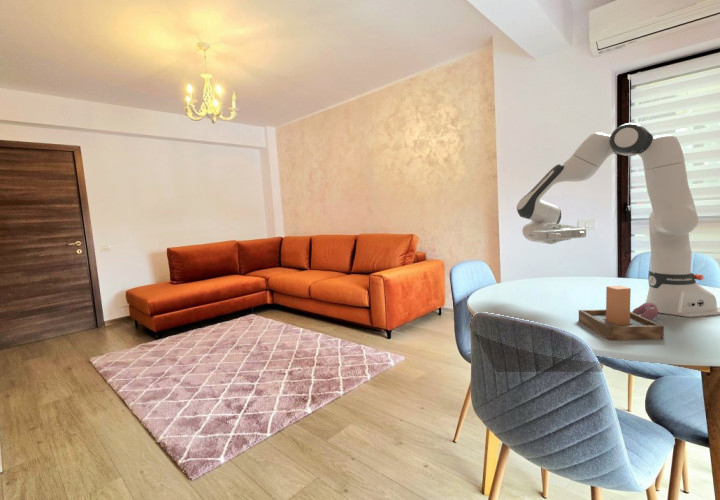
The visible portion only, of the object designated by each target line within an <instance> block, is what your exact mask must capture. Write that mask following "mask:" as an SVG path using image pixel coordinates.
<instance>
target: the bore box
mask: <svg viewBox="0 0 720 500" xmlns="http://www.w3.org/2000/svg"><path fill="white" fill-rule="evenodd" d="M578 322H579V323H581V324H583V326H586V327H587V328H588V329H590V330H592V331H594V332H595V333H597V334H598V335H600V336H601V337H603V338H605V339H607V340H608V341H634V340H635V341H637V340H638V341H640V340H641V341H645V340H649V341H650V340H653V341H654V340H657V341H658V340H664V336H665V335H664V333H665V326H664V325H662V324H659V323H658V322H655V321H653V320H652V319H651V320H648V319H646V318H644V317H642V316H639V315H637V314H635V313H633V312H632V311H630V325H612V324H610V323H608V322H606V309H578Z"/></svg>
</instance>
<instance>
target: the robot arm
mask: <svg viewBox="0 0 720 500" xmlns="http://www.w3.org/2000/svg"><path fill="white" fill-rule="evenodd" d="M612 155H621V156H626V157H628V156H629V157H631V156H636V155H638V156H640V158H641V161H642V165H643V171H644V177H645V183H646V191H647V194H648V197H649V202H650V204H651V208H652V211H651V213H650V214H649V219H648V220H649V221H648V224H649V226H648V227H649V228H648V229H649V243H650V245H649V246H650V269H649V271H648V286H649V287H648V292H647V295H646V299H645V302H644V303H646V302H647V303H653V304H655V305H656V306H657V310H658V314H659V313H661V314H666V315H673V316H674V315H675V316H681V317H686V318H693V317H703V316H704V317H706V316H715V315H720V307H719V306H718V305H717V304H718V302H717V298H716V296H715V295H714V293H712V292H710V291H709V290H707V289H706V288H704V287H702V286H701V285H699V284H698V283H697V281H703V280H704V278H705V277H704V275H703V274H700V273H699V274H698V273H696V274H694V273H693V272H691V271H692V247H691V242H690V235H689V233H691V232H692V231H694V230H695V229H696V228H697V226H698V225H699V215H698V213H697V209H696V205H695V201H694V199H693V195H692V192H691V189H690V186H689V181H688V174H687V168H686V163H685V162H686V161H685V157H684V153H683V148H682V146H681V143H680V142H679V139H678V138H677V136H675V135H671V134H663V135H662V134H661V135H655V136H653V134H651V132H649V131H648V129H647V128H646V127H644V126H643V125H642V124H639V123H634V122H628V123H624V124H621V125H619V126H618V127H617V128H615V129H614V130H613V131H612V133H611V134H606V133H604V132H593V133H592V134H590V135H589V136H587V138H585V139H584V141H583V142H582V143H581V144H580V145H579V146H578V148H576V150H575V151H574V153H572V155H571V156H570V158H568V159H567V160H566V161H565V162H563V163H561V164H556V165H555V166H554V167H553V168H551V169H550V170H549V171H548V172H547V173H546V174H545V175H544V176H543V177H542V178H541V179H540V181H538V183H536V184H535V186H534V187H533V188H532V189H531V190H530V191H529V192H528V193H527V194H526V195H524V196H523V197H522V198H521V199H520V200H519V201H518V203H517V205H516V211H517V214H518V215H519V217H521V218H522V219H526V220H530V222H529V223H527V224H525V225H524V226H522V227H523V228H522V231H521V233H522V235H523V236H524V238H525V239H527V241H530V242H535V243H542V244H546V245H547V244H548V245H553V244H557V243H559V242H563V241H570V240H571V239H582V238H586V237H587V229H586V228H585V227H580V226H574V225H573V226H572V225H571V224H566V223H565V224H562V223H561V224H560V222H561V219H562V211H561V208H560V207H559V206H557V205H555V204H553V203H551V202H547V201H546V200H543V199H541V198H542V197H543V196H544V195H545V194H547V192H548V191H549V190H550V189H551V188H552V187H553V186H555V185H556V184H558V183H559V184H560V183H562V182H577V183H578V182H583V181H587V180H588V179H591V178H592V177H593V176H594V175H595V174H596V172H597V171H598V170H599V169H600V167H601V166H602V165H603V163H604V162H605V161H606V160H607V159H608V157H610V156H612Z"/></svg>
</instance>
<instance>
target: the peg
mask: <svg viewBox="0 0 720 500" xmlns="http://www.w3.org/2000/svg"><path fill="white" fill-rule="evenodd" d="M631 289H632V288H630V287H628V286H627V287H626V286H623V285H610V286H606V294H605V295H606V298H605V299H606V301H605V305H606V306H605V310H606V322H608V323H610V324H612V325H630V312H631Z"/></svg>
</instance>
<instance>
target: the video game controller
mask: <svg viewBox="0 0 720 500" xmlns="http://www.w3.org/2000/svg"><path fill="white" fill-rule="evenodd" d="M645 302H646V301H645ZM645 302H644V303H643V304H641V305H640V306H637V307H636V308H634V309H633V310H632V311H631V312H633V313H635V314H637V315H639V316H642V317H644V318H646V319H648V320H651V321H652V319H654V318H657V317H658V316H659V312H658V310H657V306H656V305H655V304H653V303H647V302H646V303H645Z"/></svg>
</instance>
